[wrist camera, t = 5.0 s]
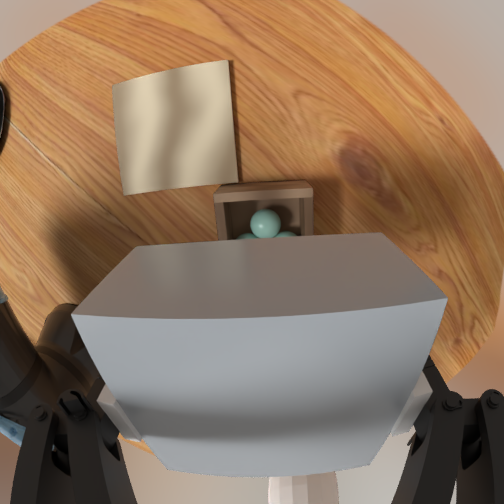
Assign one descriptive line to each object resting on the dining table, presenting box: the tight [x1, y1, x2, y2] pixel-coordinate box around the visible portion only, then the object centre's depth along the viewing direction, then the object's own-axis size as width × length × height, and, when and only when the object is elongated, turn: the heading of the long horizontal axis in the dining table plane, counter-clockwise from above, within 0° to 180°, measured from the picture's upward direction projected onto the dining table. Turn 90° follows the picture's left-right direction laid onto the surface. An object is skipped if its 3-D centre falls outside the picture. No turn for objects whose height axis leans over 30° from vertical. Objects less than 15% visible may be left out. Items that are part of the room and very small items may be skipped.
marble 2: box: [250, 209, 281, 238], centre depth 27 cm, size 3×3×3 cm
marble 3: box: [274, 231, 297, 238], centre depth 28 cm, size 3×3×3 cm
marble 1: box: [236, 233, 258, 240], centre depth 29 cm, size 3×3×3 cm
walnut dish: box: [213, 180, 314, 241], centre depth 27 cm, size 9×9×5 cm
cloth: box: [112, 60, 239, 196], centre depth 26 cm, size 13×13×1 cm
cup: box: [268, 471, 339, 504], centre depth 33 cm, size 10×10×22 cm
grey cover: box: [71, 232, 448, 477], centre depth 10 cm, size 10×10×5 cm
